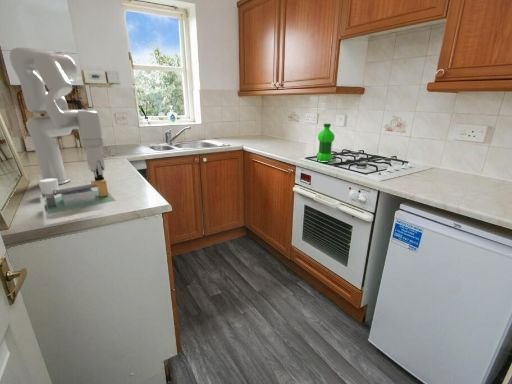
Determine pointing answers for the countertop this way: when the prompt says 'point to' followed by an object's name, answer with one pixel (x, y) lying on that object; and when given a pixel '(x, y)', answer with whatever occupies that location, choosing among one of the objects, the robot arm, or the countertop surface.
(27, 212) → the countertop surface
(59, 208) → the circuit board
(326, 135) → the plastic bottle
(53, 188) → the white grey cylinder
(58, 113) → the robot arm
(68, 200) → the heat sink
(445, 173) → the countertop surface
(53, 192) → the strap
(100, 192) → the block
